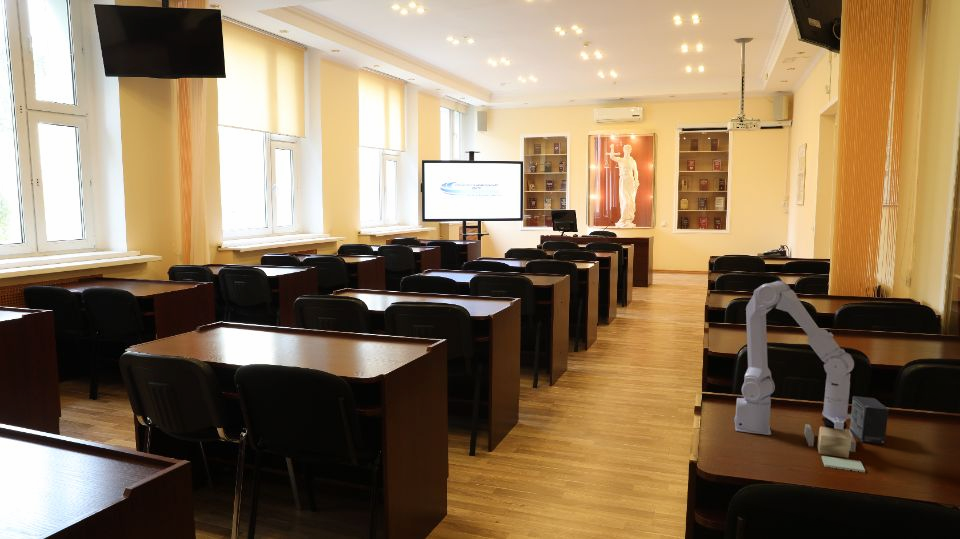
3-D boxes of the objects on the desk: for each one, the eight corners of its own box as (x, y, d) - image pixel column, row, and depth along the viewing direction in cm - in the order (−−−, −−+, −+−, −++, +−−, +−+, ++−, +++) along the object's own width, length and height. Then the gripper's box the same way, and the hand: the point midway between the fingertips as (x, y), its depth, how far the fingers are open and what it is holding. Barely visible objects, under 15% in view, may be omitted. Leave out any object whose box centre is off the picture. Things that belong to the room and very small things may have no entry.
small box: (886, 445, 184) (890, 408, 183) (861, 443, 185) (864, 406, 184) (872, 431, 194) (875, 397, 193) (848, 429, 196) (851, 395, 194)
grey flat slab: (808, 445, 182) (809, 436, 182) (804, 433, 192) (805, 424, 191) (855, 452, 179) (856, 442, 178) (848, 439, 188) (849, 429, 188)
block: (818, 453, 177) (821, 435, 175) (817, 444, 181) (819, 426, 178) (848, 457, 175) (851, 439, 172) (846, 448, 178) (849, 430, 176)
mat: (824, 466, 169) (825, 464, 169) (821, 458, 174) (821, 455, 174) (864, 472, 166) (865, 470, 166) (860, 463, 171) (860, 461, 171)
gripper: (858, 407, 170) (854, 458, 172) (848, 391, 184) (844, 438, 185) (827, 404, 173) (823, 454, 174) (820, 388, 186) (816, 435, 188)
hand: (832, 446), depth 180 cm, fingers closed
